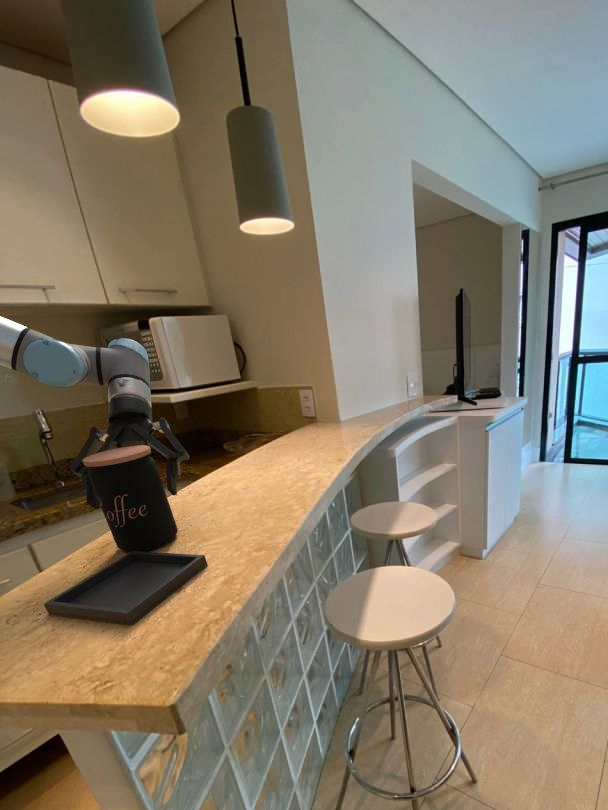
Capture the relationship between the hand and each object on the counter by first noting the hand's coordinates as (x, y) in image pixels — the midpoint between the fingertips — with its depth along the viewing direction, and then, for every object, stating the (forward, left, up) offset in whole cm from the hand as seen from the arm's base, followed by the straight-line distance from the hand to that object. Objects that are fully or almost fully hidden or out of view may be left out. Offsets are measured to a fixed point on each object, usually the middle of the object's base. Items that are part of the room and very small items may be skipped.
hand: (133, 499), depth 75 cm
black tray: (+11, -14, -9) cm, 20 cm away
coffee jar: (0, +1, -10) cm, 10 cm away
